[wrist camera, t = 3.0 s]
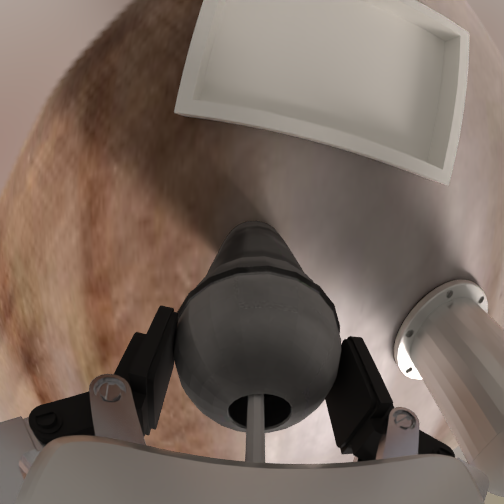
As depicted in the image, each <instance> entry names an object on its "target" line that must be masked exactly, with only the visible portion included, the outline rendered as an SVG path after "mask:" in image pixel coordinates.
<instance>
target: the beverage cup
mask: <svg viewBox="0 0 504 504" xmlns="http://www.w3.org/2000/svg"><path fill="white" fill-rule="evenodd" d="M177 313H178V322H177V329H176V336H175V345H174V360H175V364H176V368H177V372H178V375H179V378H180V382H181V385H182V387H183V389H184V391H185V392H186V394H187V395H188V397H189V398H190V399H191V400H192V402H193V403H194V404H195V405H196V407H197V408H198V409H199V410H200V411H201V412H202V413H203V414H205V415H206V416H208V417H209V418H211V419H212V420H214V421H215V422H217V423H218V424H220V425H222V426H224V427H227V428H230V429H233V430H236V431H241V432H246V455H245V462H256V463H265V433H269V432H274V431H278V430H282V429H286V428H288V427H290V426H292V425H294V424H297V423H299V422H300V421H302V420H303V419H305V418H306V417H307V416H308V415H310V414H311V413H312V412H313V411H315V410H316V409H317V408H318V407H319V406H320V404H321V403H322V402H323V401H324V399H325V398H326V396H327V394H328V393H329V391H330V390H331V388H332V386H333V384H334V382H335V380H336V378H337V373H338V368H339V361H340V355H341V338H340V335H339V333H340V324H339V321H338V317H337V313H336V310H335V306H334V304H333V303H332V301H331V300H330V299H329V298H328V296H327V295H326V294H325V293H324V291H323V290H322V289H321V287H320V286H318V285H317V284H315V283H314V282H313V281H312V280H311V279H310V278H309V277H308V276H307V275H306V274H305V273H304V272H303V270H302V268H301V267H300V265H299V264H298V262H297V260H296V259H295V257H294V256H293V254H292V252H291V251H290V249H289V248H288V246H287V245H286V243H285V241H284V240H283V239H282V237H281V236H280V235H279V234H278V233H277V232H276V230H275V229H274V228H273V227H271V226H269V225H268V224H266V223H263V222H259V221H249V222H245V223H242V224H240V225H238V226H237V227H235V228H234V229H233V230H232V231H231V232H230V234H229V235H228V236H227V238H226V239H225V241H224V243H223V244H222V246H221V248H220V250H219V252H218V254H217V256H216V257H215V259H214V261H213V263H212V265H211V267H210V269H209V271H208V273H207V275H206V277H205V278H204V279H203V280H202V281H201V282H200V283H199V284H198V285H197V287H196V288H195V289H194V290H192V291H191V292H190V293H189V294H188V296H187V297H186V299H185V300H184V302H183V304H182V305H181V307H180V309H179V310H178V312H177Z"/></svg>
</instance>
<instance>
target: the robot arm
mask: <svg viewBox="0 0 504 504" xmlns="http://www.w3.org/2000/svg"><path fill="white" fill-rule="evenodd" d="M487 313H488V301H487V297H486V295H485V293H484V291H483V290H482V289H481V288H480V287H479V286H478V285H477V284H475V283H474V282H472V281H469V280H465V279H462V280H454V281H450V282H447V283H445V284H443V285H441V286H439V287H437V288H436V289H434V290H433V291H431V292H430V293H428V294H427V295H426V296H425V297H424V298H423V299H422V300H421V301H419V303H418V304H417V305H416V306H415V307H414V308H413V309H412V310H411V312H410V313H409V315H408V316H407V317H406V319H405V320H404V322H403V324H402V326H401V328H400V329H399V332H398V334H397V337H396V340H395V345H394V358H395V361H396V364H397V366H398V367H399V369H400V371H401V372H402V373H403V374H404V375H405V376H407V377H409V378H413V379H422V380H423V381H424V383H425V385H426V386H427V388H428V390H429V392H430V393H431V395H432V397H433V399H434V400H435V402H436V404H437V406H438V407H439V409H440V411H441V413H442V414H443V416H444V418H445V420H446V422H447V424H448V425H449V427H450V429H451V431H452V433H453V435H454V437H455V439H456V441H457V443H458V444H459V446H460V448H461V450H462V452H463V454H464V456H465V458H466V460H467V462H468V463H466V462H465V461H463V460H461V459H460V458H455V454H454V452H453V450H452V449H451V448H450V447H449V446H447V445H446V444H444V443H442V442H440V441H438V440H437V439H435V438H433V437H431V436H429V435H428V434H426V433H424V432H422V431H421V430H419V420H418V418H417V416H416V415H415V413H414V412H412V411H411V410H409V409H407V408H404V407H396V408H394V406H393V401H392V399H391V397H390V394H389V392H388V390H387V388H386V386H385V384H384V382H383V379H382V377H381V375H380V373H379V371H378V369H377V367H376V365H375V363H374V361H373V359H372V357H371V355H370V353H369V351H368V349H367V347H366V345H365V343H364V341H363V339H362V338H361V337H351V336H350V337H348V338H347V339H344V340H343V342H342V345H341V355H340V361H339V368H338V373H337V378H336V380H335V382H334V384H333V386H332V388H331V390H330V391H329V393H328V394H327V396H326V398H325V400H326V404H327V408H328V412H329V416H330V420H331V424H332V428H333V432H334V436H335V441H336V445H337V447H339V448H340V449H341V453H342V454H353V455H354V456H355V457H354V460H353V462H348V463H331V464H273V463H256V462H244V461H233V460H225V459H217V458H210V457H203V456H197V455H191V454H185V453H180V452H174V451H169V450H164V449H159V448H155V447H151V446H146V443H145V440H144V436H145V434H146V435H149V434H150V430H151V428H152V429H156V427H157V424H158V420H159V416H160V413H161V409H162V405H163V402H164V398H165V395H166V391H167V388H168V384H169V381H170V377H171V374H172V370H173V366H174V345H175V336H176V329H177V322H178V313H176V312H174V308H170V307H165V306H160V307H159V309H158V311H157V313H156V315H155V317H154V319H153V321H152V323H151V326H150V328H149V330H148V332H147V334H143V333H139V332H136V333H135V334H134V335H133V337H132V339H131V341H130V343H129V345H128V347H127V349H126V351H125V353H124V355H123V357H122V359H121V361H120V363H119V365H118V367H117V369H116V371H115V373H114V374H103V375H100V376H98V377H96V378H95V379H93V380H92V382H91V384H90V386H89V392H86V393H82V394H79V395H76V396H72V397H69V398H65V399H62V400H58V401H54V402H51V403H47V404H43V405H40V406H38V407H36V408H34V409H33V410H32V411H31V413H30V415H29V417H28V418H24V419H23V418H22V417H21V416H20V417H17V418H14V419H11V420H7V421H4V422H0V504H484V500H485V497H486V494H487V491H488V492H490V493H492V494H495V495H498V496H501V497H504V329H503V328H502V327H501V326H500V325H499V324H498V323H497V322H496V321H495V320H493V319H492V318H491V317H490V316H489V315H488V314H487Z"/></svg>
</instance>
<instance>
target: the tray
mask: <svg viewBox="0 0 504 504" xmlns="http://www.w3.org/2000/svg"><path fill="white" fill-rule="evenodd" d="M468 64H469V32H468V31H466V30H465V29H463V28H462V27H460V26H459V25H457V24H456V23H454V22H453V21H451V20H450V19H448V18H446V17H445V16H443V15H441V14H440V13H438V12H436V11H435V10H433V9H431V8H429V7H428V6H426V5H424V4H422V3H420V2H418V1H416V0H203V3H202V6H201V10H200V13H199V16H198V19H197V23H196V26H195V29H194V33H193V36H192V40H191V43H190V47H189V51H188V54H187V58H186V62H185V66H184V70H183V74H182V78H181V83H180V87H179V91H178V96H177V100H176V105H175V110H174V113H176V114H179V115H182V116H186V117H194V118H201V119H207V120H214V121H220V122H226V123H232V124H237V125H242V126H248V127H253V128H258V129H262V130H267V131H272V132H276V133H281V134H285V135H289V136H293V137H297V138H301V139H305V140H309V141H313V142H317V143H320V144H324V145H328V146H331V147H335V148H338V149H342V150H345V151H348V152H351V153H355V154H358V155H361V156H364V157H367V158H370V159H373V160H376V161H379V162H382V163H385V164H388V165H391V166H394V167H396V168H399V169H402V170H404V171H407V172H410V173H412V174H415V175H418V176H420V177H423V178H425V179H428V180H431V181H434V182H437V183H440V184H443V185H446V186H449V183H450V179H451V175H452V171H453V166H454V162H455V157H456V153H457V148H458V143H459V137H460V132H461V126H462V120H463V113H464V106H465V98H466V89H467V78H468Z"/></svg>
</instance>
